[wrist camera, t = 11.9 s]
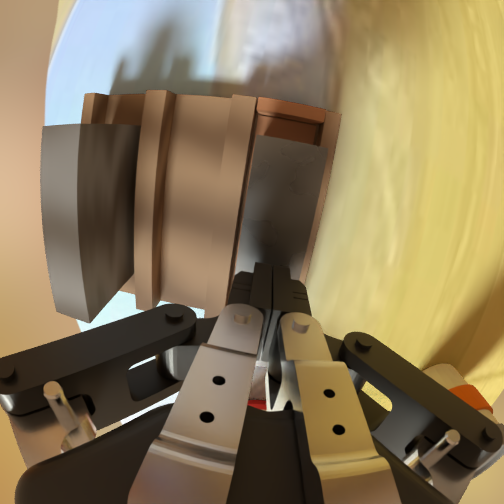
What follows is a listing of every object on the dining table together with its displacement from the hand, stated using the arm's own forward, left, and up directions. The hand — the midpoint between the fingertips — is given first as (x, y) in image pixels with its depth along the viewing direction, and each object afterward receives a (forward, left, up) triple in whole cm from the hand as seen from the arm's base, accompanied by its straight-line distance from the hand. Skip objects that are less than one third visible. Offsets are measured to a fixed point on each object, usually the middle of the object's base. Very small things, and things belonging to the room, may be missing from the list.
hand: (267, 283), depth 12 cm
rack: (0, -6, -11) cm, 12 cm away
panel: (0, 0, -9) cm, 9 cm away
